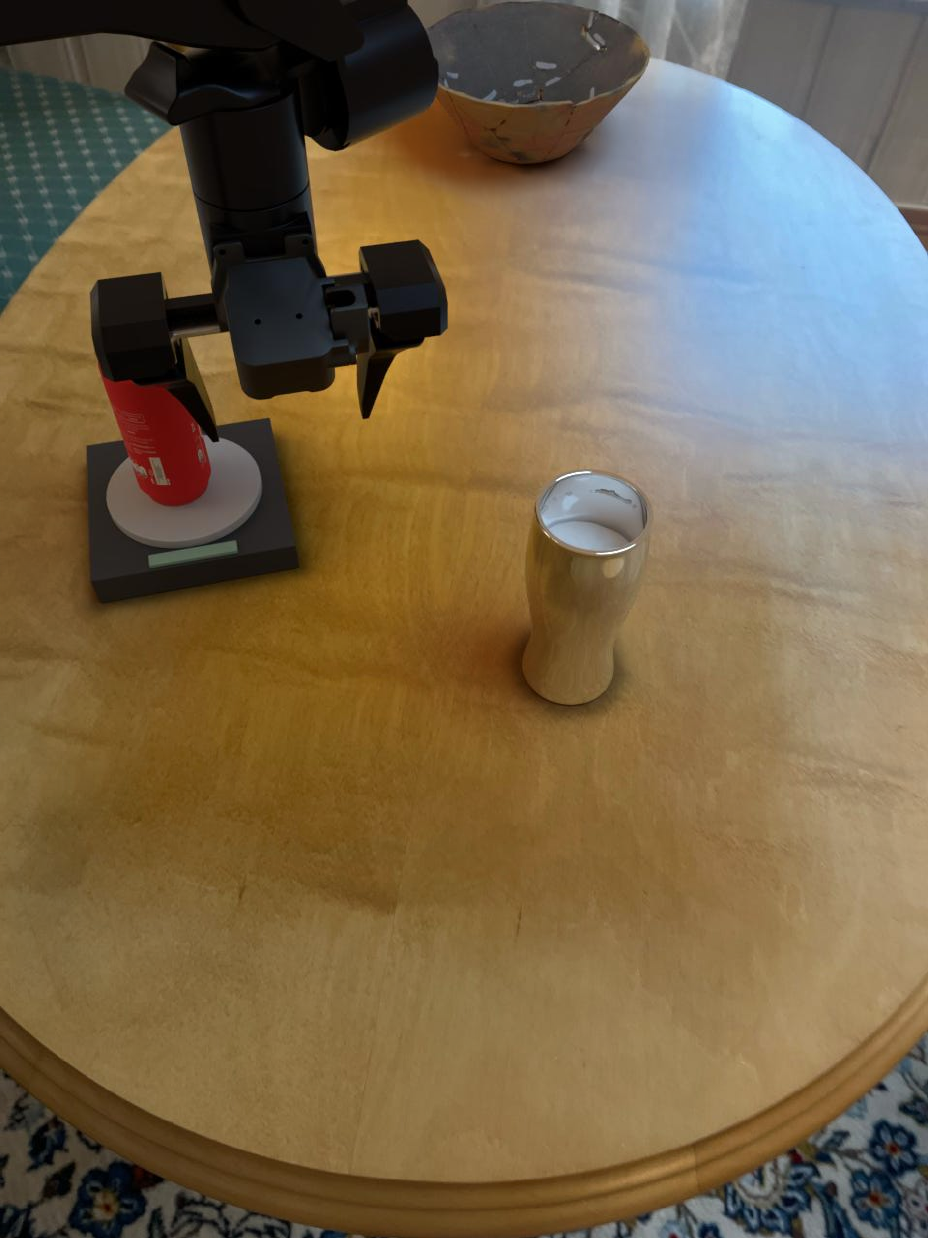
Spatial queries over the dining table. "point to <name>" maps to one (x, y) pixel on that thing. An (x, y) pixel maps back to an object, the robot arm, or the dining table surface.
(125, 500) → the scale
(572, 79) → the bowl
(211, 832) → the dining table surface
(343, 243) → the dining table surface
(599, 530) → the beer glass
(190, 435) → the beverage can
